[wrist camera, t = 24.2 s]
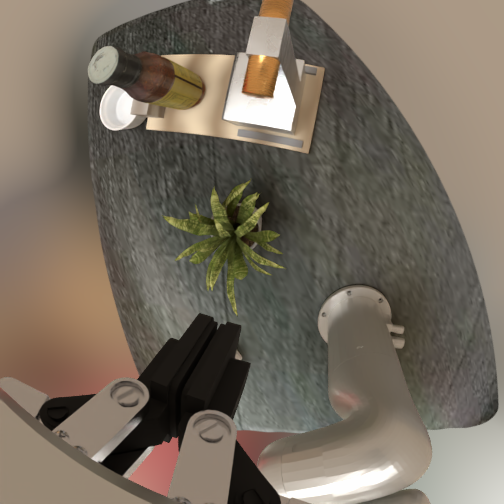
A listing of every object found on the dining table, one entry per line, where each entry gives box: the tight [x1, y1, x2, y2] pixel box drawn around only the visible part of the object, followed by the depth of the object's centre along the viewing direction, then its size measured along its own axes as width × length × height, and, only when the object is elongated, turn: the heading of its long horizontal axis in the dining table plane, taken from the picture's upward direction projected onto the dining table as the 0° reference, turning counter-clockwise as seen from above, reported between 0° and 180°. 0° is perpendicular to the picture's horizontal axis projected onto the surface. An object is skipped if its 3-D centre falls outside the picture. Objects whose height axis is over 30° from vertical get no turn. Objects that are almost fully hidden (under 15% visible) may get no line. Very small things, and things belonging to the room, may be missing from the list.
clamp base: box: [130, 54, 325, 154], centre depth 35 cm, size 26×13×7 cm, turn 80°
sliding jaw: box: [222, 0, 306, 136], centre depth 24 cm, size 8×9×23 cm
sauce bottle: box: [88, 46, 205, 110], centre depth 28 cm, size 7×6×20 cm
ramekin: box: [100, 85, 146, 130], centre depth 39 cm, size 9×9×4 cm
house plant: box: [162, 180, 286, 317], centre depth 36 cm, size 14×14×16 cm
